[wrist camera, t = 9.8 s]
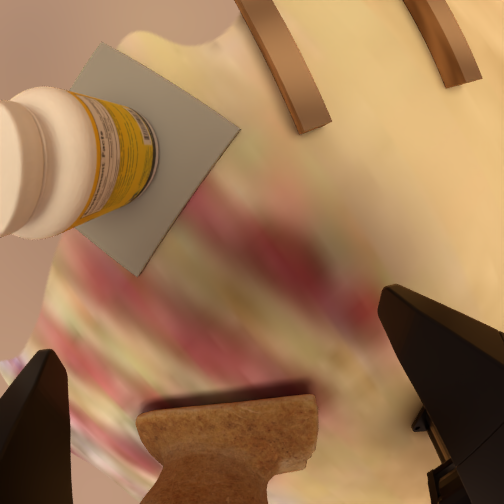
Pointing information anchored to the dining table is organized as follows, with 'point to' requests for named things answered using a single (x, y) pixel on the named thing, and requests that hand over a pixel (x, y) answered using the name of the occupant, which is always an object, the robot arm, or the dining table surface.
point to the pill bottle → (69, 160)
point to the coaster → (169, 157)
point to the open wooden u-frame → (301, 81)
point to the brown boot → (227, 448)
